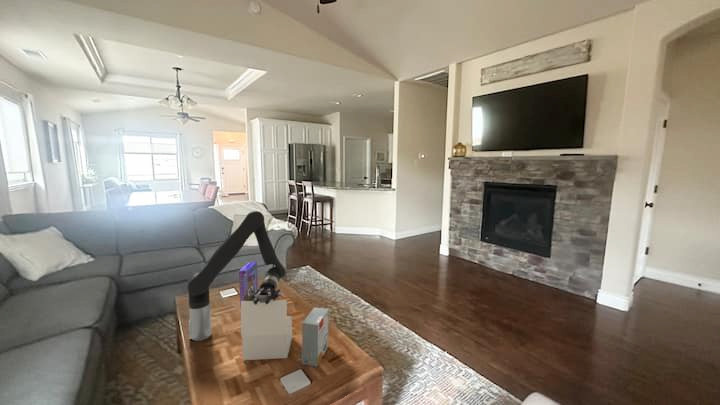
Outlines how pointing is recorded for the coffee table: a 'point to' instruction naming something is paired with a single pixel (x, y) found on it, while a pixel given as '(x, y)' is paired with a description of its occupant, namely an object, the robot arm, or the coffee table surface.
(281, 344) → the carton
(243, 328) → the flap
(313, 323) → the hard drive box
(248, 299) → the cereal box
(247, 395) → the coffee table surface
